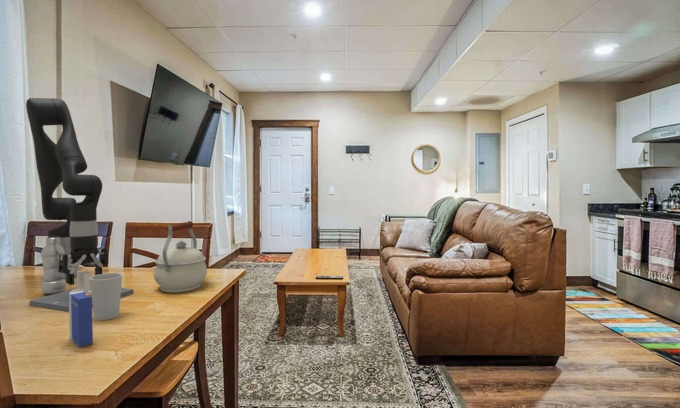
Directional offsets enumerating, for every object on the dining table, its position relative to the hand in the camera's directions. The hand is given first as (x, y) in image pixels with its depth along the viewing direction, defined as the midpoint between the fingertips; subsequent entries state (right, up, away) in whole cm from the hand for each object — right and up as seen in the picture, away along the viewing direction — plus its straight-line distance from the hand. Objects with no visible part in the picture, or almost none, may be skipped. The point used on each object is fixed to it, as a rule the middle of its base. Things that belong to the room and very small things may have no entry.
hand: (84, 281), depth 114 cm
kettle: (+26, -6, +17) cm, 31 cm away
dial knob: (+1, -4, -1) cm, 5 cm away
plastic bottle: (-15, -6, +6) cm, 17 cm away
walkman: (+22, -8, -30) cm, 38 cm away
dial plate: (0, -6, 0) cm, 6 cm away
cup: (+17, -7, -14) cm, 24 cm away
